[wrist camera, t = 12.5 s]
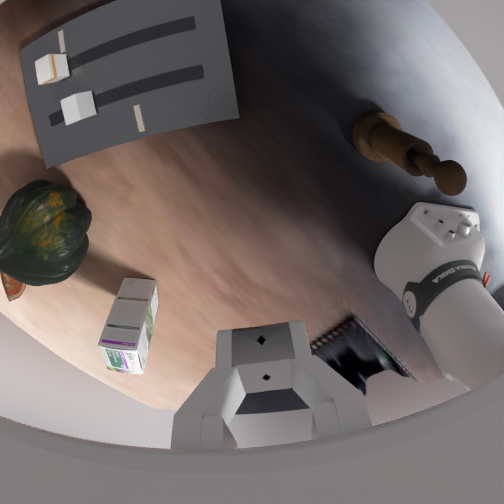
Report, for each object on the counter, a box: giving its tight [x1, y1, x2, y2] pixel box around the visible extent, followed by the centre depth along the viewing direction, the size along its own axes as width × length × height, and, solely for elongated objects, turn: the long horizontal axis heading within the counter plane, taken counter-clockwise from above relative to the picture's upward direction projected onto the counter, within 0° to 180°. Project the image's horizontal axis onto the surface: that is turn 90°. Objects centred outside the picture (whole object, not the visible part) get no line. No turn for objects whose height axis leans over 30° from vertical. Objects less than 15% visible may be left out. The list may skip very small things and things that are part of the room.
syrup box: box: [98, 277, 159, 375], centre depth 40 cm, size 6×6×14 cm
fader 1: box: [35, 54, 70, 85], centre depth 22 cm, size 2×3×4 cm
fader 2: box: [60, 91, 96, 125], centre depth 25 cm, size 2×3×4 cm, turn 8°
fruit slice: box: [0, 270, 26, 301], centre depth 41 cm, size 8×7×5 cm
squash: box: [0, 180, 92, 286], centre depth 33 cm, size 14×15×15 cm
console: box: [20, 0, 239, 169], centre depth 27 cm, size 26×18×3 cm
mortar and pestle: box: [353, 110, 467, 196], centre depth 27 cm, size 7×6×18 cm
